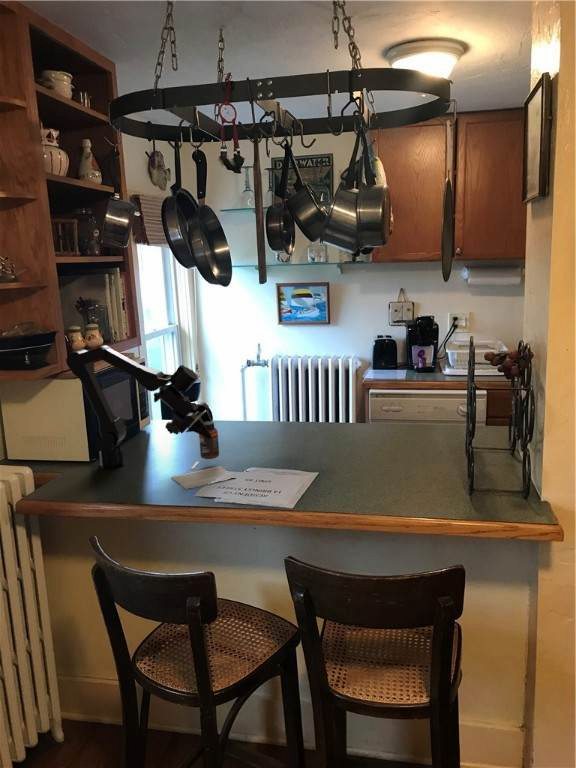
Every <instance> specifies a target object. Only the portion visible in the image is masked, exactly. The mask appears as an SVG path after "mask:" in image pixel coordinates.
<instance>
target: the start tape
mask: <svg viewBox="0 0 576 768" xmlns="http://www.w3.org/2000/svg"><path fill="white" fill-rule="evenodd" d="M199 463H200V461H199V460H198V461H195V462H194V464H193V465H192V466H191V467H190V470H194V469H195V468H196V467H197V466H198V464H199Z"/></svg>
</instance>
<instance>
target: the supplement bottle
mask: <svg viewBox="0 0 576 768" xmlns="http://www.w3.org/2000/svg"><path fill="white" fill-rule="evenodd" d="M204 424H205V426H206V427H207V429H208V431H209V433H210V434H211V436H212V437H211V438H210V439H208V438H206V437H204V436H202V435H200V434H198V435H199V436H198V438H199V440H198V441H199V452H200V458H201V459H204V460H212V459H216V458H218V457H219V456H220V447H219V445H220V444H219V431H218V429H217V428H216V427H215V422H214V421H213V420H212V421H207V422H204ZM214 427H215V428H214Z"/></svg>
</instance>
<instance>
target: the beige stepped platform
mask: <svg viewBox="0 0 576 768" xmlns="http://www.w3.org/2000/svg"><path fill="white" fill-rule="evenodd" d="M226 473H230V471H227V470H226V469H224V468H223V467H222V466H220V465H219V466H215V467H210V468H206V469H201V470H196V471H192V472H191V471H190V472H188V473H183V474H177V475H174V476H171V479H172V478H173V479H174V480H175V481H174V480H173V479H172V480H173V481H174V482H175V483H177V482H178V483H179V484H180V485H179V484H178V483H177V484H178V485H179V486H180V487H182V488H183V487H184V488H185V489H184V488H183V489H184V490H186V489H187V490H190V489H189V488H191V489H194V488H199V487H203V485H204V486H207V485H206V484H208V483H211V482H212V481H215V480H216V479H217V478H220V477H222V476H221V475H223V476H225V474H226ZM228 475H229V474H228ZM208 485H209V484H208Z"/></svg>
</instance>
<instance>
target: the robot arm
mask: <svg viewBox="0 0 576 768" xmlns="http://www.w3.org/2000/svg"><path fill="white" fill-rule="evenodd" d="M99 360H102V361H104V362H106V363H107V364H110V365H111V366H112V367H115V368H116V369H118V370H120V371H121V372H123V373H125V374H127V375H129V376H131V377H132V378H134V379H135V380H136V382H137V383H138V384H139V385H140V386H141V387H142V388H143V389H145V390H147V391H148V392H154V391H155V392H154V393H153V402H154V403H157V402H159V400H161V401H162V402H163V403H164V404H166V405H167V406H168V407H169V408H170V409H171V414H172V415H173V418H172V420H171V421H167V422H166V423H165V427H164V428H165V429H166V431H167V432H168V433H169V434H175V435H177V436H178V434H180V433H181V434H183V433H184V432H185V433H190V432H191V433H192V432H193V433H196V434H197V435H199V434H200V435H202V436H204V437H206V438H208V439H210V438H211V437H212V436H211V434H210V433H209V431H208V429H207V427H206V426H205V424H204V422H207V421H212V422H213V420H212V418H211V414H210V412H209V405H208V404H207V402H205V401H204V402H200V403H199V404H198V405H197V404H194V403H192V401H190V400H189V399H190V397H189V396H188V395H187V396H185V395H184V394H183V393H182V392H187V391H188V390H189V389H190V388H191V387H192V386H193V385H194V384H195V383H196V382H197V381H198V379H199V378H198V375H197V373H196V372H195V371H194V370H193V369H191V368H189V367H187V366H185V365H184V364H180V365H179V366H178V367H177V369H176V370H175V371H174V373H173V374H170V373H164V372H163V371H162V370H160V369H159V370H158V369H156V368H154V367H149V366H146V365H142V364H139V362H136V361H135V360H132V359H131V358H129V357H127V356H126V355H123V354H122V353H120V352H118V351H116V350H114V349H113V348H111V347H110V346H108V345H106V344H105V345H101V346H98V347H96V348H93V349H90V350H86V349H83V348H82V349H77V350H75V351H71V352H70V353H69V354H68V355H67V356H66V358H65V363H66V366H67V367H68V368H69V370H70V371H71V373H72V374H73V376H75V377H76V378H78V380H79V381H80V383H81V384H82V387H83V389H84V391H85V393H86V396H87V398H88V400H89V401H90V404H91V406H92V409H93V411H94V412H95V415H96V417H97V418H98V423H99V424H98V425H99V426H98V427H99V429H98V430H99V433H100V434H99V435H100V437H101V438H100V439H99V440H98V441H97V442H96V444H94V446H95V449H96V451H97V452H99V453H98V454H99V463H98V464H99V466H100V467H101V469H102V470H107V469H113V468H118V467H123V466H124V454H123V450H122V449H121V446H120V445H121V444H122V441H123V440H124V438H125V437H126V435H127V430H126V429H127V427H128V426H126V424H125V423H124V420H123V417H122V416H119V417H117V416H116V415H115V414H114V412H113V411H112V410H111V407H110V404H109V403H108V401H107V398H106V396H105V395H104V392H103V390H102V388H101V386H100V383H99V381H98V379H97V376H96V375H95V363H94V362H95V361H99ZM168 384H169V385H168ZM166 385H168V386H166ZM159 389H160V390H159ZM157 390H158V391H159V392H156V391H157ZM214 428H216V427H215V426H214Z"/></svg>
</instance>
